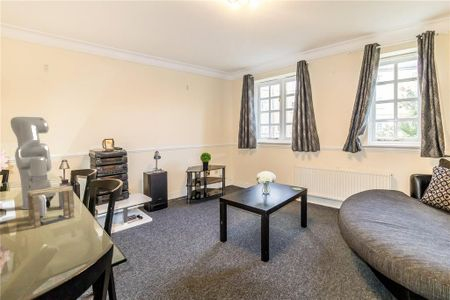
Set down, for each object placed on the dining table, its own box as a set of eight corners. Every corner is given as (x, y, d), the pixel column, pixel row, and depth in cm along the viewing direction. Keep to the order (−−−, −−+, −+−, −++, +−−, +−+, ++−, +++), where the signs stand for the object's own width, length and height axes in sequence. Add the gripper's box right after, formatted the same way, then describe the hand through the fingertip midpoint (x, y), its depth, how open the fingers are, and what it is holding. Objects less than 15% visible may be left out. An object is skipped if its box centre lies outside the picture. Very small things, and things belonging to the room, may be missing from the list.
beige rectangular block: (74, 206, 157) (72, 179, 156) (62, 209, 152) (60, 181, 151) (71, 204, 162) (69, 178, 161) (59, 207, 157) (57, 180, 156)
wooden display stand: (29, 224, 126) (26, 191, 125) (67, 214, 141) (65, 185, 140) (35, 227, 121) (32, 193, 120) (74, 217, 136) (72, 186, 134)
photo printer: (37, 212, 142) (36, 192, 142) (46, 211, 145) (45, 191, 144) (36, 217, 134) (35, 195, 133) (46, 215, 136) (45, 194, 136)
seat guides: (38, 222, 129) (38, 219, 129) (60, 216, 137) (60, 214, 137) (44, 225, 124) (43, 222, 124) (66, 219, 133) (66, 216, 133)
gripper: (22, 181, 129) (25, 214, 130) (58, 176, 143) (61, 206, 144) (18, 180, 133) (21, 212, 134) (53, 175, 147) (56, 204, 148)
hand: (41, 209), depth 139 cm, fingers closed on photo printer, 5 cm apart
